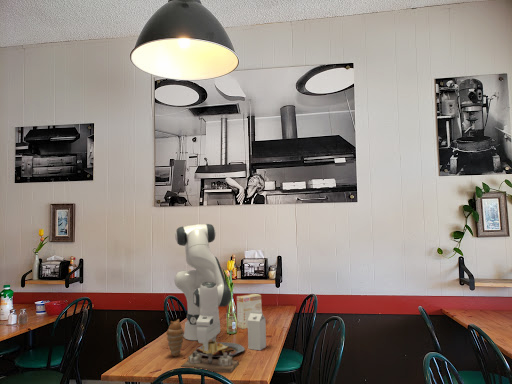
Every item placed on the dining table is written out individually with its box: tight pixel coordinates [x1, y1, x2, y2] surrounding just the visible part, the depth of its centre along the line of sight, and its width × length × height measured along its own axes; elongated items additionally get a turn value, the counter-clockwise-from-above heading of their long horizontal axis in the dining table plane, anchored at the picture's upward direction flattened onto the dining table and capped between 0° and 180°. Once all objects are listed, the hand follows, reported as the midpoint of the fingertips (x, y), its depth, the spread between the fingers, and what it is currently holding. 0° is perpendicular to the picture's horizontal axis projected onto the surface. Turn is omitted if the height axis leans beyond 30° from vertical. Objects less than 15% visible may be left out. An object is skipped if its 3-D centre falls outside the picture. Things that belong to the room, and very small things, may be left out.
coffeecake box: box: [236, 293, 263, 330], centre depth 273 cm, size 15×7×20 cm, turn 122°
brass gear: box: [202, 340, 218, 354], centre depth 198 cm, size 7×7×4 cm
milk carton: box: [247, 311, 267, 351], centre depth 225 cm, size 7×7×19 cm
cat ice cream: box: [166, 318, 184, 357], centre depth 214 cm, size 9×8×18 cm
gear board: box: [180, 350, 240, 374], centre depth 197 cm, size 12×24×6 cm, turn 75°
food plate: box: [195, 341, 246, 358], centre depth 218 cm, size 25×23×4 cm
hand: (209, 347), depth 198 cm, fingers closed on brass gear, 7 cm apart
